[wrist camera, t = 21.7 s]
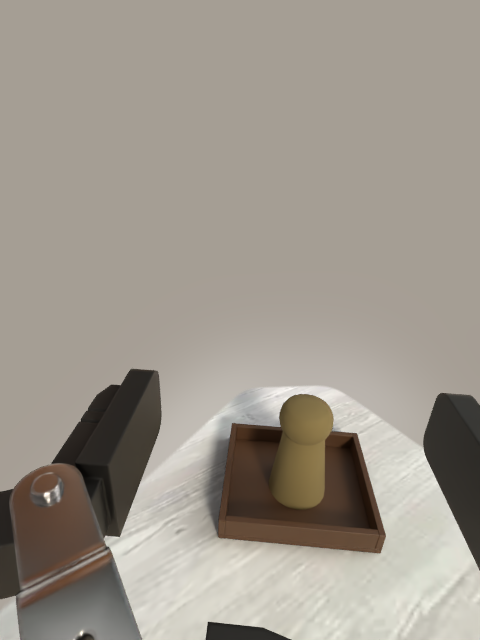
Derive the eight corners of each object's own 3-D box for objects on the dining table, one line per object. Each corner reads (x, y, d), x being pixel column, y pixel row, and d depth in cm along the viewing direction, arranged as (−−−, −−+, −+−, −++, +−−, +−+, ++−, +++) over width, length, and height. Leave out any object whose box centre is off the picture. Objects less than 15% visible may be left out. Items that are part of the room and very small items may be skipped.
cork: (335, 485, 42) (352, 405, 37) (302, 521, 38) (316, 436, 33) (291, 455, 45) (301, 378, 40) (257, 484, 41) (263, 403, 36)
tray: (218, 537, 36) (218, 520, 35) (231, 438, 48) (232, 423, 47) (380, 553, 35) (386, 536, 34) (353, 448, 47) (357, 433, 46)
